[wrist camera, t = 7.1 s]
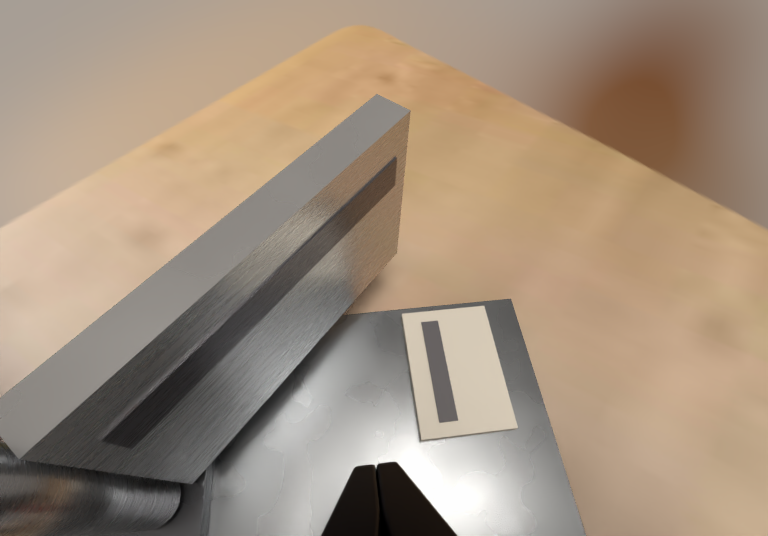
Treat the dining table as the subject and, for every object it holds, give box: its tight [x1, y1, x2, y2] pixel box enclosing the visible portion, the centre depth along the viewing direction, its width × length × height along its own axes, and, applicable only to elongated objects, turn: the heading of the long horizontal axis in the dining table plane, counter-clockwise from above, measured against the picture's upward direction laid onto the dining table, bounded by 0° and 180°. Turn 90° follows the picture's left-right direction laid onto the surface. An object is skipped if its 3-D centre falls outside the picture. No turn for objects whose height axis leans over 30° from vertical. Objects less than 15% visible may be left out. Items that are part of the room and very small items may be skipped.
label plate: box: [401, 306, 518, 442], centre depth 16 cm, size 5×4×1 cm
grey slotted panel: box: [0, 94, 410, 536], centre depth 11 cm, size 13×2×8 cm, turn 143°
